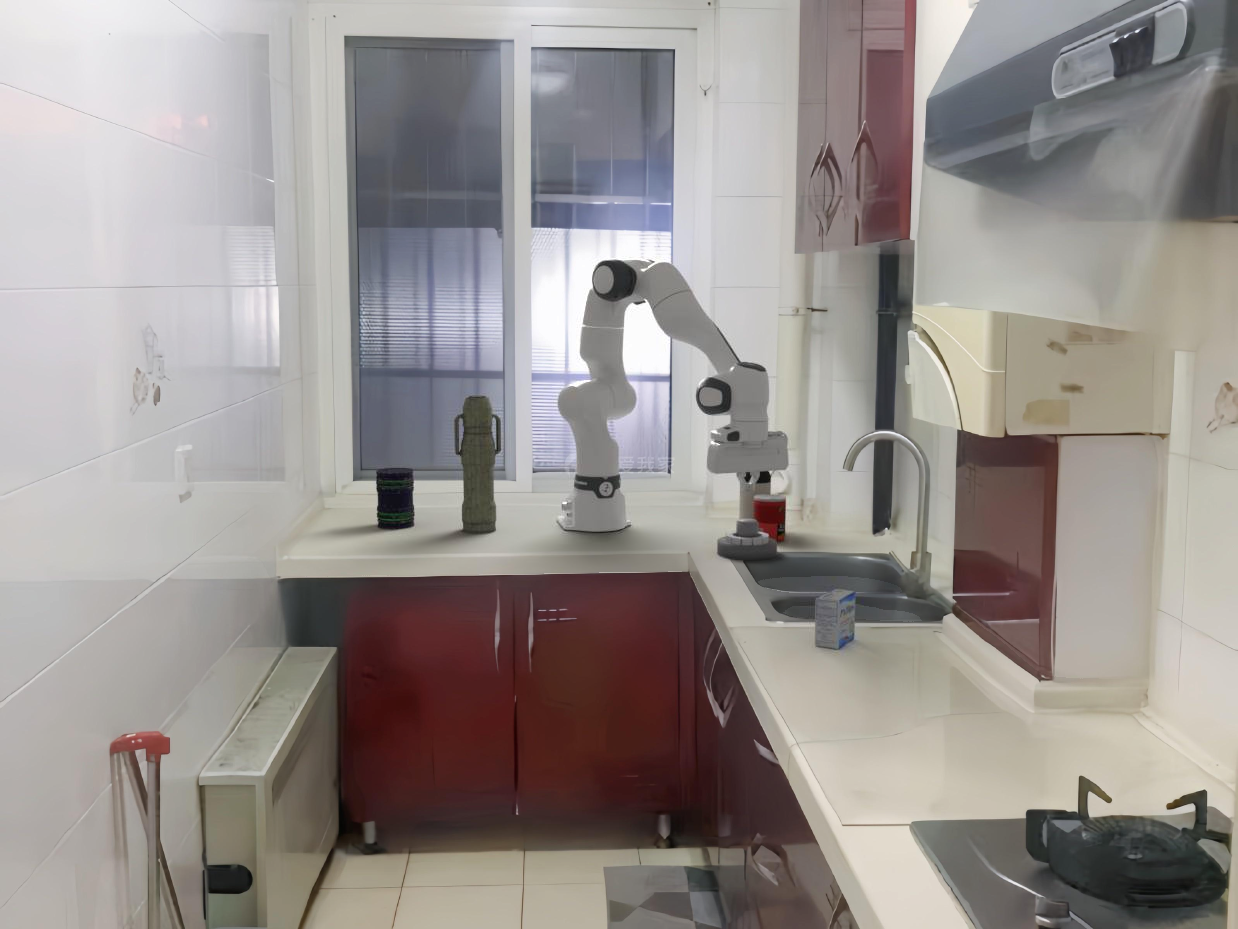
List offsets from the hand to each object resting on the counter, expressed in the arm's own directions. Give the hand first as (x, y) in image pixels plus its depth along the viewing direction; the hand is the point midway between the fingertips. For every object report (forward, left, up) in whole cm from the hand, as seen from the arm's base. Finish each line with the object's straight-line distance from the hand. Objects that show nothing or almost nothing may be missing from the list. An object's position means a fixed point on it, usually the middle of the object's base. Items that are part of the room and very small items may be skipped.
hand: (747, 490), depth 265 cm
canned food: (-12, +13, -15) cm, 23 cm away
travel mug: (-23, +15, -15) cm, 31 cm away
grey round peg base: (0, 0, -15) cm, 15 cm away
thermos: (-51, -51, -15) cm, 74 cm away
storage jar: (-65, -70, -15) cm, 97 cm away
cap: (0, 0, -12) cm, 12 cm away
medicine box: (+69, -21, -15) cm, 74 cm away
